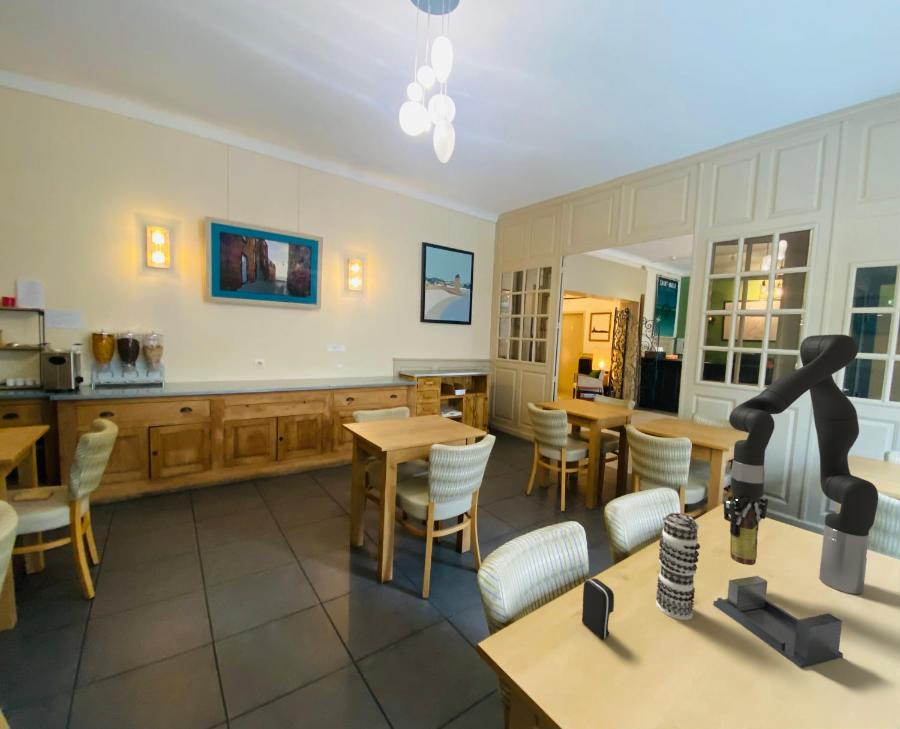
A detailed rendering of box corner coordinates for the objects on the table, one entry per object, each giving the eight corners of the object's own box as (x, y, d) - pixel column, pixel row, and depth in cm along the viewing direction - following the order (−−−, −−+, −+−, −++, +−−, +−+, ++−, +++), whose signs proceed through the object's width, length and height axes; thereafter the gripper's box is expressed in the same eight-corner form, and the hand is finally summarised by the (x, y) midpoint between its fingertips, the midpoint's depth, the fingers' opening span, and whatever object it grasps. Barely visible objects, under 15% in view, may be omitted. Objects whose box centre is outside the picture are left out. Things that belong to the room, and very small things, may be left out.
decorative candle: (691, 603, 106) (699, 513, 104) (697, 625, 97) (705, 528, 96) (653, 593, 109) (660, 506, 108) (655, 613, 101) (662, 519, 100)
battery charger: (614, 636, 93) (617, 590, 92) (602, 641, 91) (605, 594, 90) (591, 617, 99) (594, 573, 98) (580, 621, 97) (583, 577, 96)
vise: (750, 598, 109) (752, 566, 108) (842, 657, 89) (846, 619, 88) (713, 604, 106) (716, 572, 105) (800, 668, 85) (804, 628, 85)
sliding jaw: (755, 600, 106) (757, 575, 106) (765, 606, 104) (767, 581, 103) (726, 605, 103) (729, 580, 103) (736, 612, 101) (738, 586, 101)
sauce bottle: (761, 567, 110) (765, 498, 109) (736, 565, 111) (740, 496, 110) (748, 555, 116) (752, 489, 115) (724, 552, 118) (728, 488, 116)
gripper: (753, 471, 118) (749, 525, 119) (715, 475, 114) (712, 531, 115) (780, 480, 111) (776, 537, 112) (741, 484, 107) (737, 543, 108)
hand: (743, 534), depth 113 cm, fingers closed on sauce bottle, 6 cm apart
